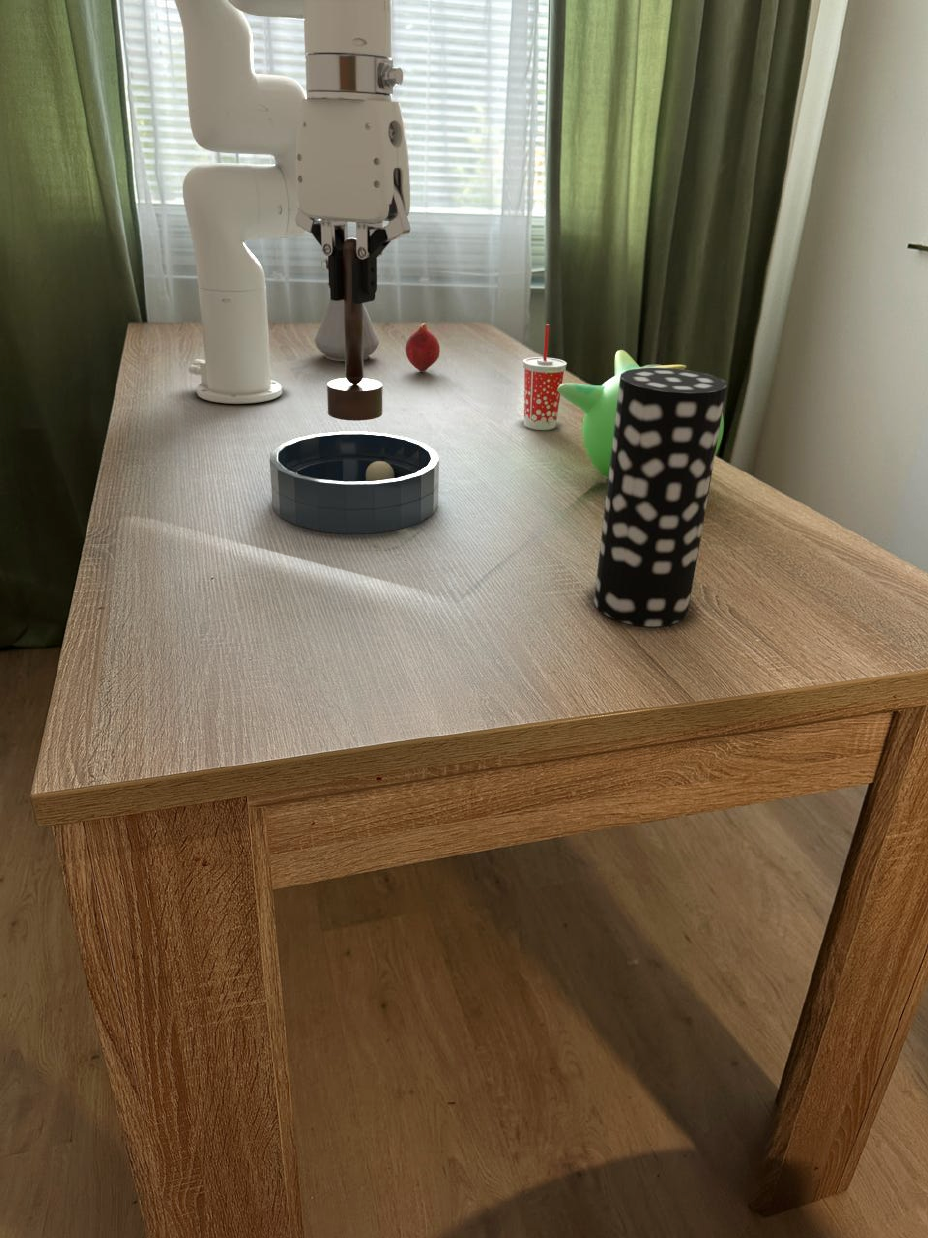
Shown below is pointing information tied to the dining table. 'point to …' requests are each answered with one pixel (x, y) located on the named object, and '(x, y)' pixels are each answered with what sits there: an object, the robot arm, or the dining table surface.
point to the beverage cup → (542, 389)
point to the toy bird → (606, 410)
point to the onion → (422, 348)
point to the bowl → (353, 482)
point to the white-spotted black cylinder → (657, 493)
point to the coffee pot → (342, 331)
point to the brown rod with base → (353, 359)
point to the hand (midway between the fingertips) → (353, 298)
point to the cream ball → (379, 472)
